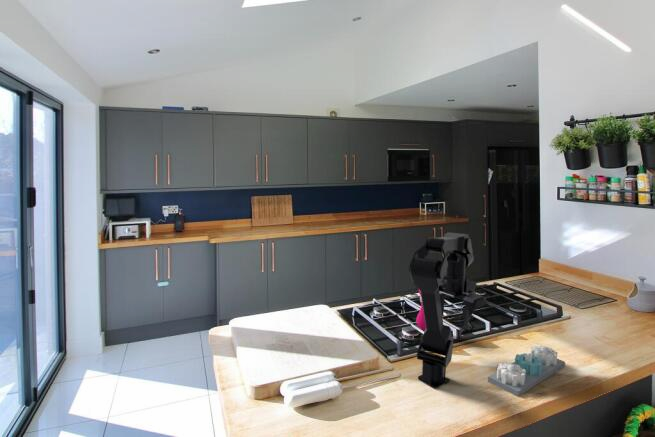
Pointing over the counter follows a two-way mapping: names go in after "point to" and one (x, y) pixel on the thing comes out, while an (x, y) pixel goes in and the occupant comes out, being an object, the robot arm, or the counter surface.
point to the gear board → (528, 378)
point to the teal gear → (529, 364)
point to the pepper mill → (421, 316)
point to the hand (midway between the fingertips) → (453, 320)
